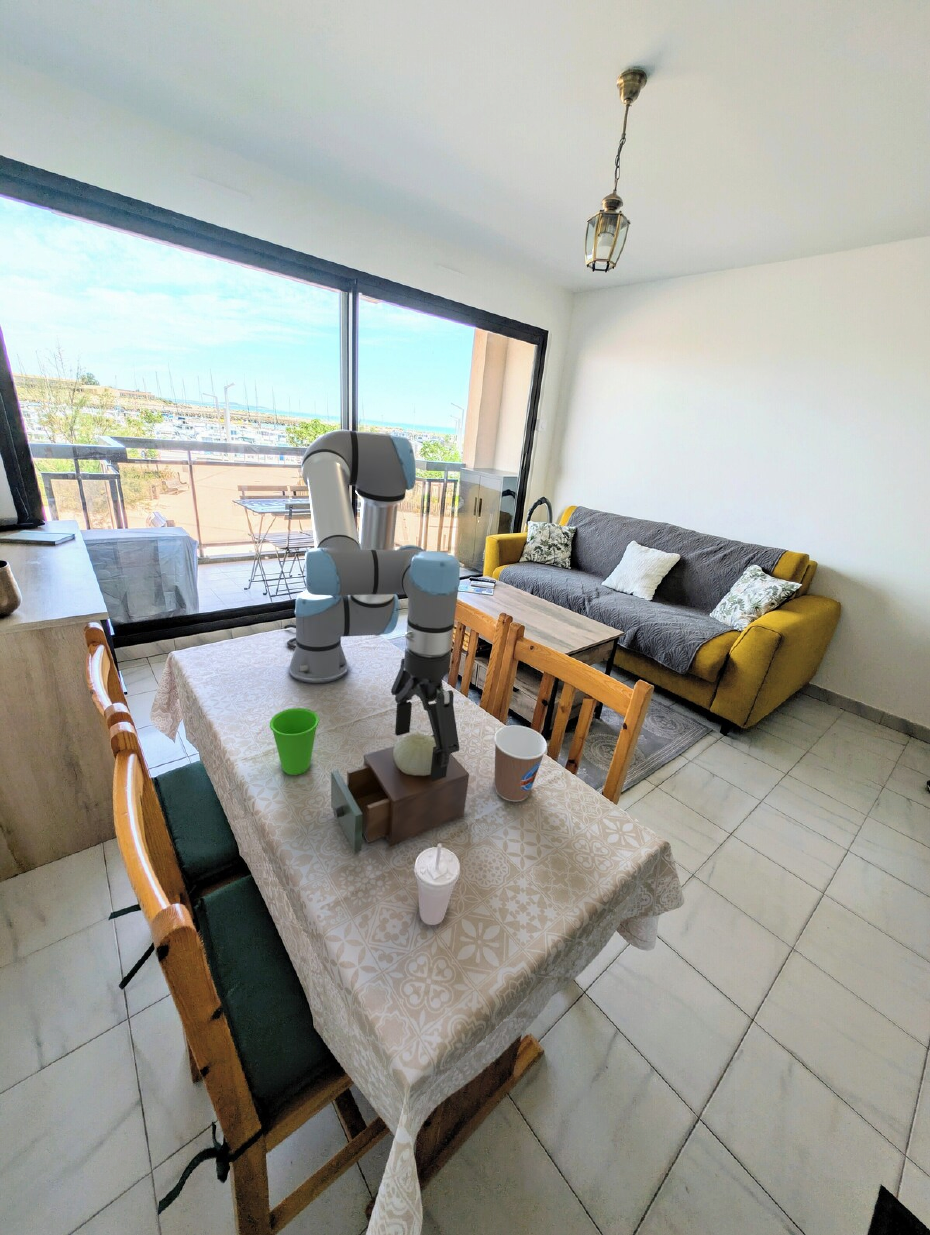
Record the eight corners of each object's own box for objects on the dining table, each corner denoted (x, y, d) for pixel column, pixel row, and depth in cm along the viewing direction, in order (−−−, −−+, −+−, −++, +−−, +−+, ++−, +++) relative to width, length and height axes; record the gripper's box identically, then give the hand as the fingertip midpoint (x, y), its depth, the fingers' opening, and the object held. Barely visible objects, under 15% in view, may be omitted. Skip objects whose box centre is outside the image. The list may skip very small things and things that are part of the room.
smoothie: (405, 928, 67) (411, 856, 61) (416, 888, 73) (423, 819, 67) (449, 939, 66) (459, 866, 61) (457, 897, 72) (467, 828, 67)
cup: (278, 788, 89) (276, 740, 85) (267, 759, 96) (264, 714, 92) (325, 773, 94) (325, 727, 90) (311, 747, 100) (311, 703, 96)
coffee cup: (524, 816, 89) (534, 765, 84) (477, 792, 93) (484, 742, 89) (544, 786, 97) (555, 738, 93) (500, 765, 102) (508, 718, 97)
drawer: (347, 856, 75) (347, 819, 73) (324, 808, 84) (324, 773, 81) (427, 823, 83) (431, 788, 81) (399, 782, 92) (401, 749, 89)
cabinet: (390, 846, 79) (393, 801, 76) (362, 796, 89) (363, 754, 85) (463, 815, 87) (469, 773, 84) (430, 773, 97) (434, 734, 93)
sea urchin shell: (443, 777, 79) (413, 743, 78) (409, 796, 82) (380, 763, 81) (454, 745, 88) (427, 713, 86) (424, 763, 90) (397, 732, 89)
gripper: (376, 622, 84) (372, 721, 92) (448, 689, 65) (435, 808, 73) (413, 617, 88) (406, 713, 96) (491, 679, 69) (475, 792, 77)
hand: (419, 754), depth 84 cm, fingers open, 13 cm apart
